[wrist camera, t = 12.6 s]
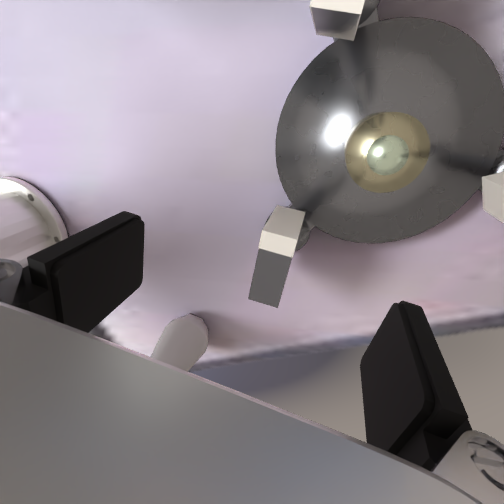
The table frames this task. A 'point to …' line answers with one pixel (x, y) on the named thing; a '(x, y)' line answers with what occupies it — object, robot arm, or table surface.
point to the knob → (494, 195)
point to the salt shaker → (182, 342)
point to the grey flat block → (275, 255)
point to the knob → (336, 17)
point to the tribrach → (390, 130)
